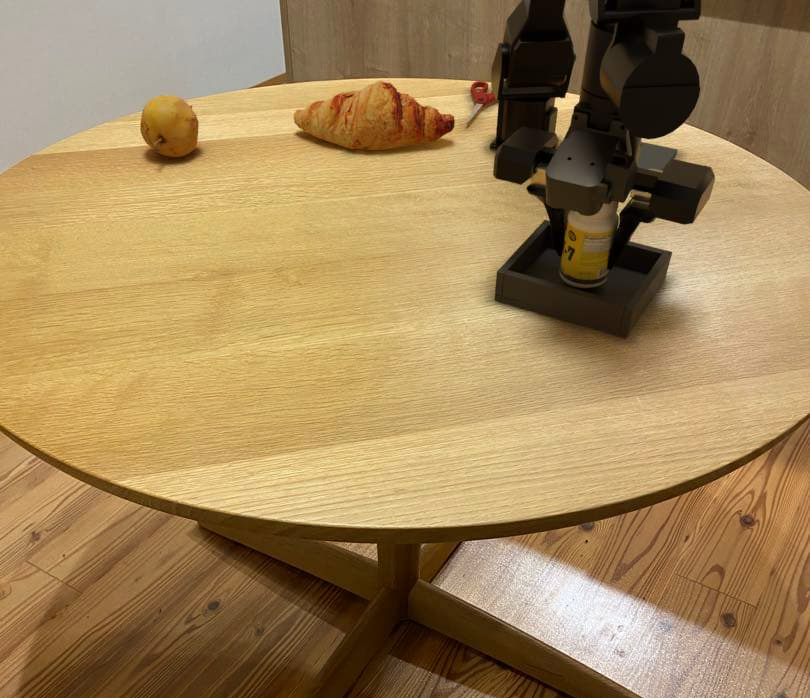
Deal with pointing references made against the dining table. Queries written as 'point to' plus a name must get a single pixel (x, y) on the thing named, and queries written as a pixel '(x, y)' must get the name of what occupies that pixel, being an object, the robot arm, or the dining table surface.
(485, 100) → the scissors
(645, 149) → the mat
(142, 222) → the dining table surface
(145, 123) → the fruit
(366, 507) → the dining table surface
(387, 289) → the dining table surface
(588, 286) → the supplement bottle
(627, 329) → the tray
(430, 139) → the croissant
